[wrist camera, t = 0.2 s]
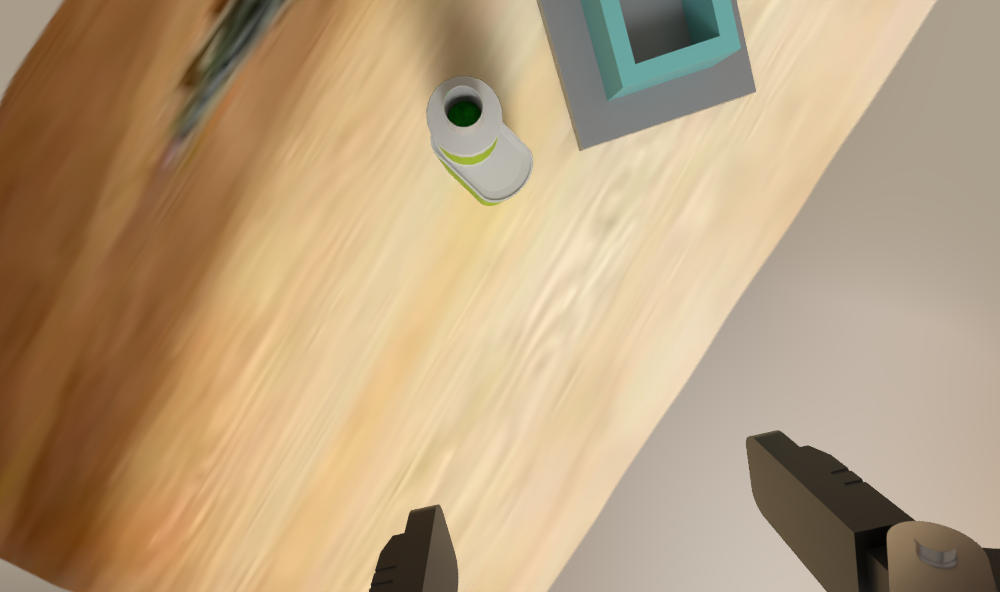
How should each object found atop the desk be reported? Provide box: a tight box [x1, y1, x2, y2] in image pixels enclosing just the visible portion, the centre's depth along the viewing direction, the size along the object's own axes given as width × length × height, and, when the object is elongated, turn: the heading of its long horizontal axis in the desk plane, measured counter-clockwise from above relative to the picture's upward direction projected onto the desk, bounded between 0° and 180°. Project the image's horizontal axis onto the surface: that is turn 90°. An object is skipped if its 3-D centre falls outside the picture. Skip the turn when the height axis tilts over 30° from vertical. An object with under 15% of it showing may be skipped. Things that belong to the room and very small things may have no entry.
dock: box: [537, 0, 756, 151], centre depth 34 cm, size 16×14×5 cm
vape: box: [426, 76, 533, 206], centre depth 29 cm, size 4×6×20 cm, turn 46°
